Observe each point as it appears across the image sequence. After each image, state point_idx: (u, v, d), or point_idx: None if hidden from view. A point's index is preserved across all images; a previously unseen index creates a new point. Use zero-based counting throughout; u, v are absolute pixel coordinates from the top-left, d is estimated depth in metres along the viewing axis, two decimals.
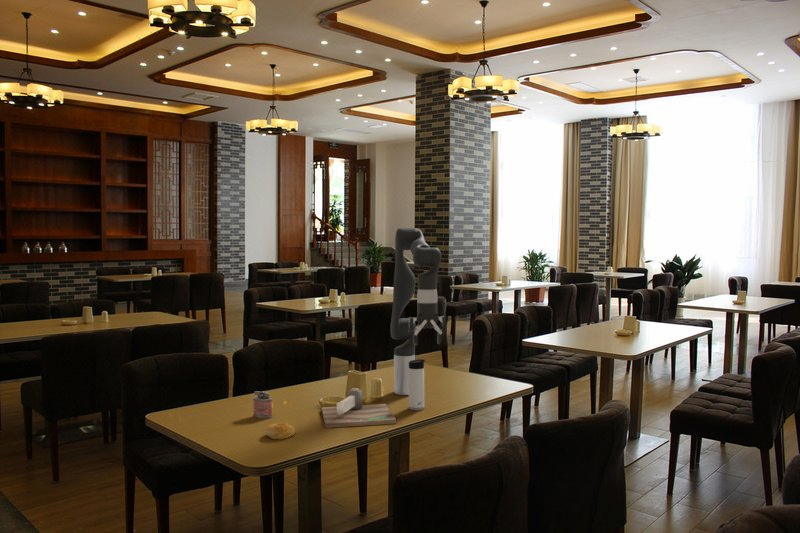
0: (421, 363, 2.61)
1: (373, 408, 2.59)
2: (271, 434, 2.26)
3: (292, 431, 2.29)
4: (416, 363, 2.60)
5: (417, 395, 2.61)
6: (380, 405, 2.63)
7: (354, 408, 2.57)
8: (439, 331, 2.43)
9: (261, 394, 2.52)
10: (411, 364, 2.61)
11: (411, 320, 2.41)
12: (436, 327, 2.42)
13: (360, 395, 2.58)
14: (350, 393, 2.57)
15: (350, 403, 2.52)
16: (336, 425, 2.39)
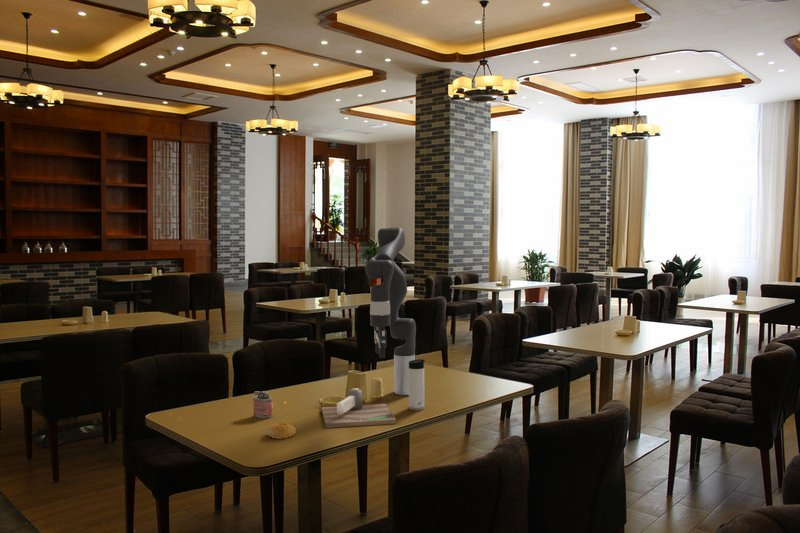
0: (421, 363, 2.61)
1: (373, 408, 2.59)
2: (272, 434, 2.26)
3: (293, 431, 2.29)
4: (416, 363, 2.60)
5: (417, 395, 2.61)
6: (380, 405, 2.63)
7: (354, 408, 2.57)
8: None
9: (261, 394, 2.52)
10: (411, 364, 2.61)
11: None
12: None
13: (360, 395, 2.58)
14: (350, 393, 2.57)
15: (350, 403, 2.52)
16: (336, 425, 2.39)
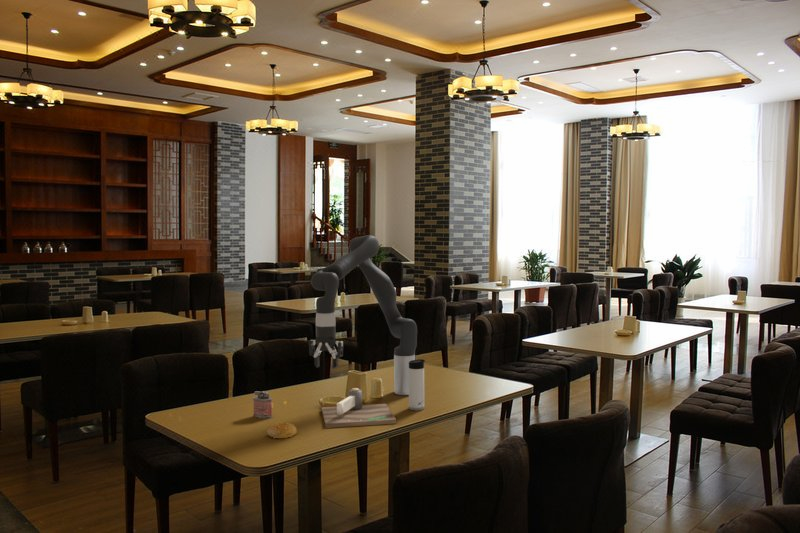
0: (421, 363, 2.61)
1: (373, 408, 2.59)
2: (273, 434, 2.26)
3: (294, 431, 2.29)
4: (416, 363, 2.60)
5: (417, 395, 2.61)
6: (380, 405, 2.63)
7: (354, 408, 2.57)
8: None
9: (261, 394, 2.52)
10: (411, 364, 2.61)
11: None
12: None
13: (360, 395, 2.58)
14: (350, 393, 2.57)
15: (350, 403, 2.52)
16: (336, 425, 2.39)
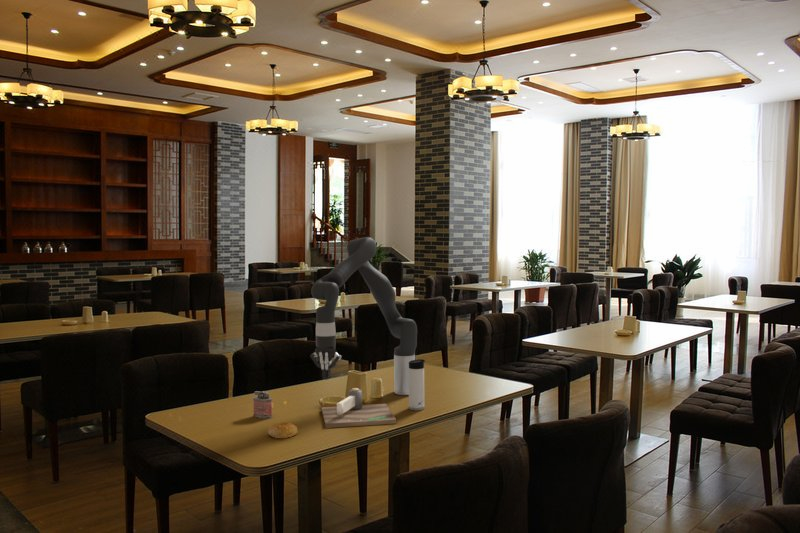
0: (421, 363, 2.61)
1: (373, 408, 2.59)
2: (274, 433, 2.26)
3: (295, 430, 2.30)
4: (416, 363, 2.60)
5: (417, 395, 2.61)
6: (380, 405, 2.63)
7: (354, 408, 2.57)
8: None
9: (261, 394, 2.52)
10: (411, 364, 2.61)
11: None
12: None
13: (360, 395, 2.58)
14: (350, 393, 2.57)
15: (350, 403, 2.52)
16: (336, 425, 2.39)
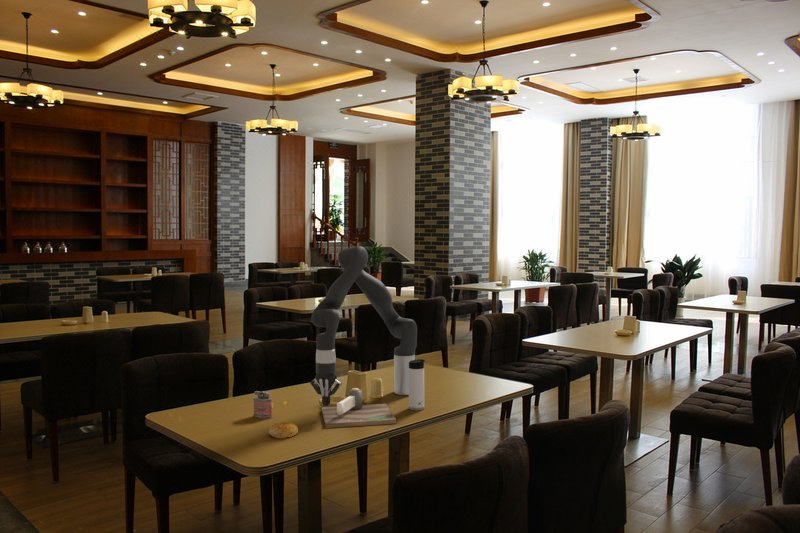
0: (421, 363, 2.61)
1: (373, 408, 2.59)
2: (274, 433, 2.27)
3: (295, 430, 2.30)
4: (416, 363, 2.60)
5: (417, 395, 2.61)
6: (380, 405, 2.63)
7: (354, 408, 2.57)
8: None
9: (261, 394, 2.52)
10: (411, 364, 2.61)
11: None
12: None
13: (360, 395, 2.58)
14: (350, 393, 2.57)
15: (350, 403, 2.52)
16: (336, 425, 2.39)
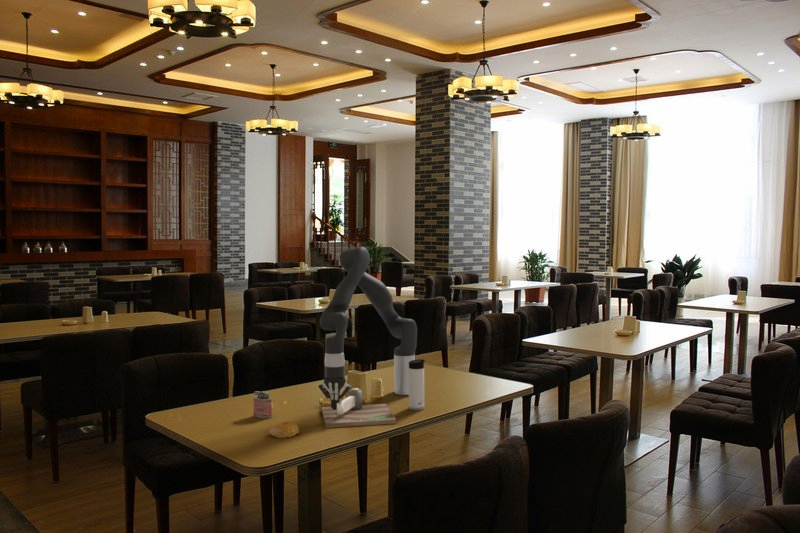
0: (421, 363, 2.61)
1: (373, 408, 2.59)
2: (275, 433, 2.27)
3: (296, 430, 2.30)
4: (416, 363, 2.60)
5: (417, 395, 2.61)
6: (380, 405, 2.63)
7: (354, 408, 2.57)
8: None
9: (261, 394, 2.52)
10: (411, 364, 2.61)
11: None
12: None
13: (360, 395, 2.58)
14: (350, 393, 2.57)
15: (350, 403, 2.52)
16: (336, 425, 2.39)
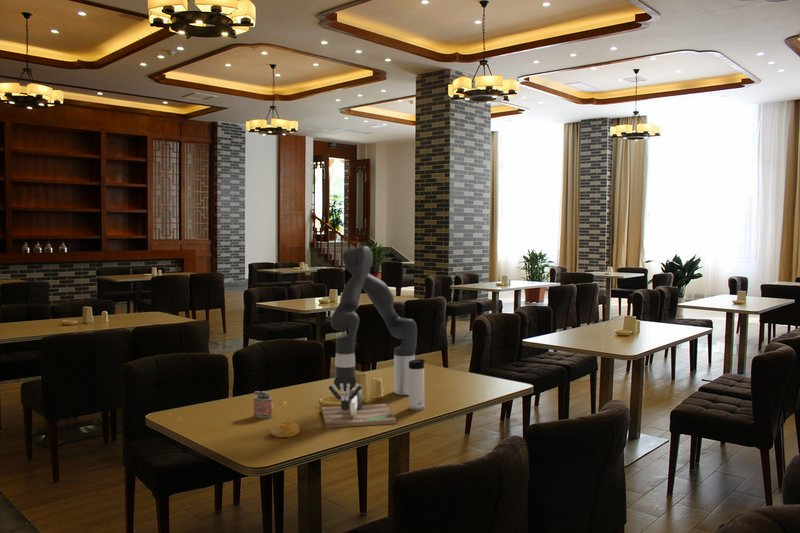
0: (421, 363, 2.61)
1: (373, 408, 2.59)
2: (276, 433, 2.27)
3: (297, 430, 2.30)
4: (416, 363, 2.60)
5: (417, 395, 2.61)
6: (380, 405, 2.63)
7: (356, 408, 2.57)
8: None
9: (261, 394, 2.52)
10: (411, 364, 2.61)
11: None
12: None
13: (361, 394, 2.58)
14: None
15: None
16: (336, 425, 2.39)
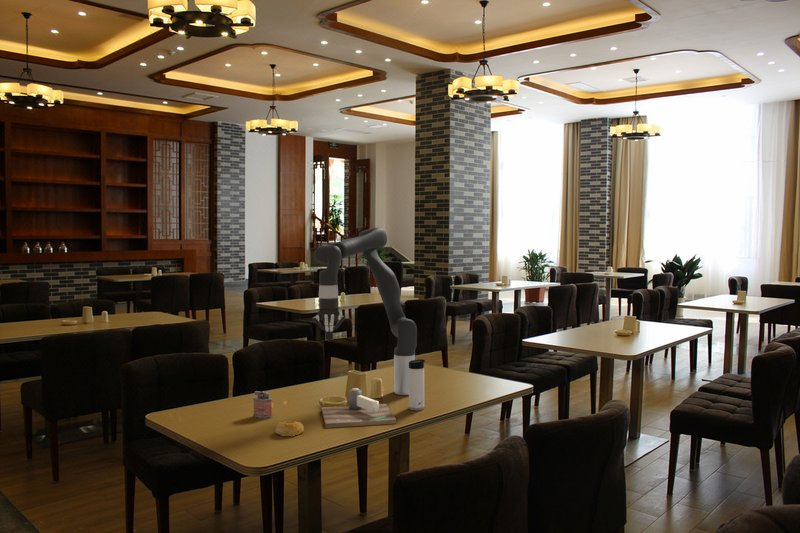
0: (421, 363, 2.61)
1: None
2: (281, 432, 2.29)
3: (301, 428, 2.32)
4: (416, 363, 2.60)
5: (417, 395, 2.61)
6: (380, 405, 2.63)
7: (360, 407, 2.58)
8: None
9: (261, 394, 2.52)
10: (411, 364, 2.61)
11: None
12: None
13: None
14: (356, 393, 2.56)
15: None
16: (336, 425, 2.39)
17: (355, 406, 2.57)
